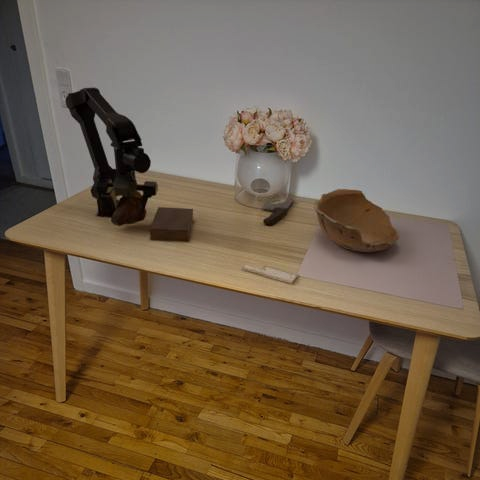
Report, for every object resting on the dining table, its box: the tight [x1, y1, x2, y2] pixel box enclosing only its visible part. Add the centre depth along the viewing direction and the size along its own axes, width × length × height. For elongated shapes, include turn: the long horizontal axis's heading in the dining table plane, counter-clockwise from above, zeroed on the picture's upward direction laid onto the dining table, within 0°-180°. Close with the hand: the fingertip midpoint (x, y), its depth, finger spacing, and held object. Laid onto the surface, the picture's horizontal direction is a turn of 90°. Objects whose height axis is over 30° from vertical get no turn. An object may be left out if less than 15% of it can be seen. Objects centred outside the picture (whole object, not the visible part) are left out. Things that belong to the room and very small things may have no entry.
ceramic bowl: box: [313, 188, 400, 253], centre depth 143 cm, size 30×27×15 cm
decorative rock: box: [110, 191, 147, 227], centre depth 141 cm, size 12×6×11 cm, turn 132°
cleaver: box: [261, 197, 295, 226], centre depth 164 cm, size 29×10×2 cm, turn 162°
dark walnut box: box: [149, 206, 194, 243], centre depth 145 cm, size 12×18×4 cm, turn 0°
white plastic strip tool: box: [243, 264, 299, 284], centre depth 125 cm, size 5×15×1 cm, turn 63°
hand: (129, 212), depth 143 cm, fingers closed on decorative rock, 8 cm apart
